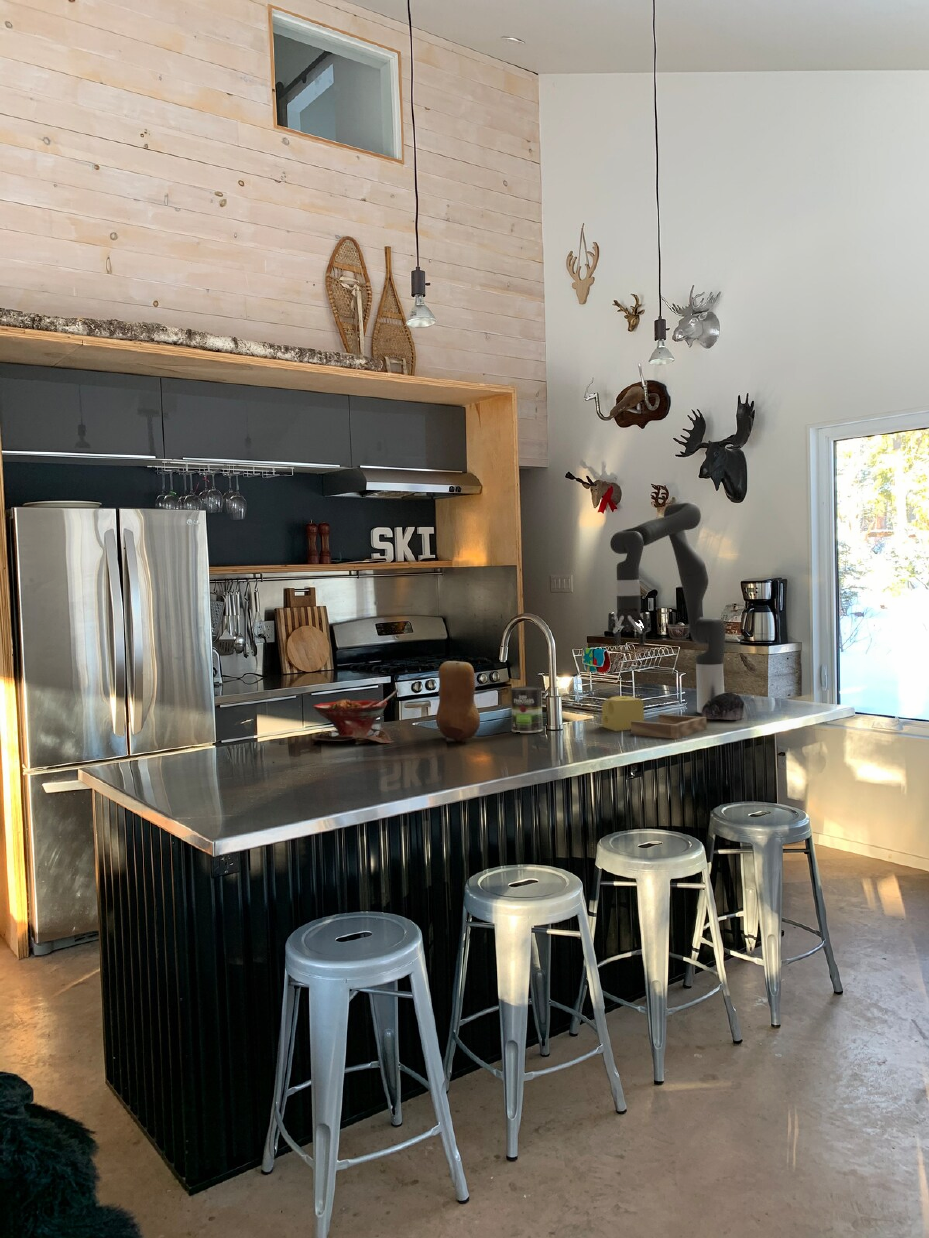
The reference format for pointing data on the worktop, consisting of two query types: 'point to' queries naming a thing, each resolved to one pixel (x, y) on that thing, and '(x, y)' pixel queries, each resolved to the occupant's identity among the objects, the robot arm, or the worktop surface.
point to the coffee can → (526, 709)
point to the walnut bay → (669, 726)
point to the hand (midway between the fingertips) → (629, 645)
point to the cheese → (621, 712)
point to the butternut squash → (457, 701)
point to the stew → (353, 720)
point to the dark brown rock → (724, 707)
